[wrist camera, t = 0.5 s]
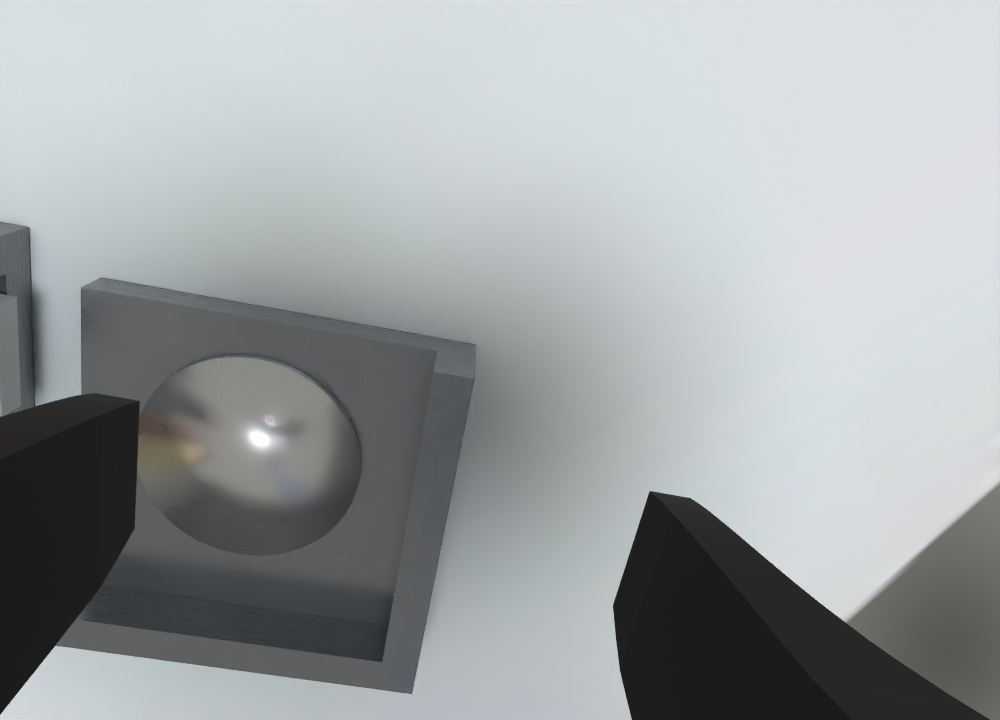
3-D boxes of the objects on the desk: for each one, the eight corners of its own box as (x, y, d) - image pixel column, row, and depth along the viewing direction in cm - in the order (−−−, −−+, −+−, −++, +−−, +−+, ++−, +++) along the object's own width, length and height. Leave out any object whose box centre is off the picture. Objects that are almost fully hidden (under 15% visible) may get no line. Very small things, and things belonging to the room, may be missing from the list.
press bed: (419, 632, 23) (411, 694, 21) (99, 587, 22) (54, 645, 20) (475, 344, 20) (473, 379, 17) (100, 277, 19) (46, 304, 17)
